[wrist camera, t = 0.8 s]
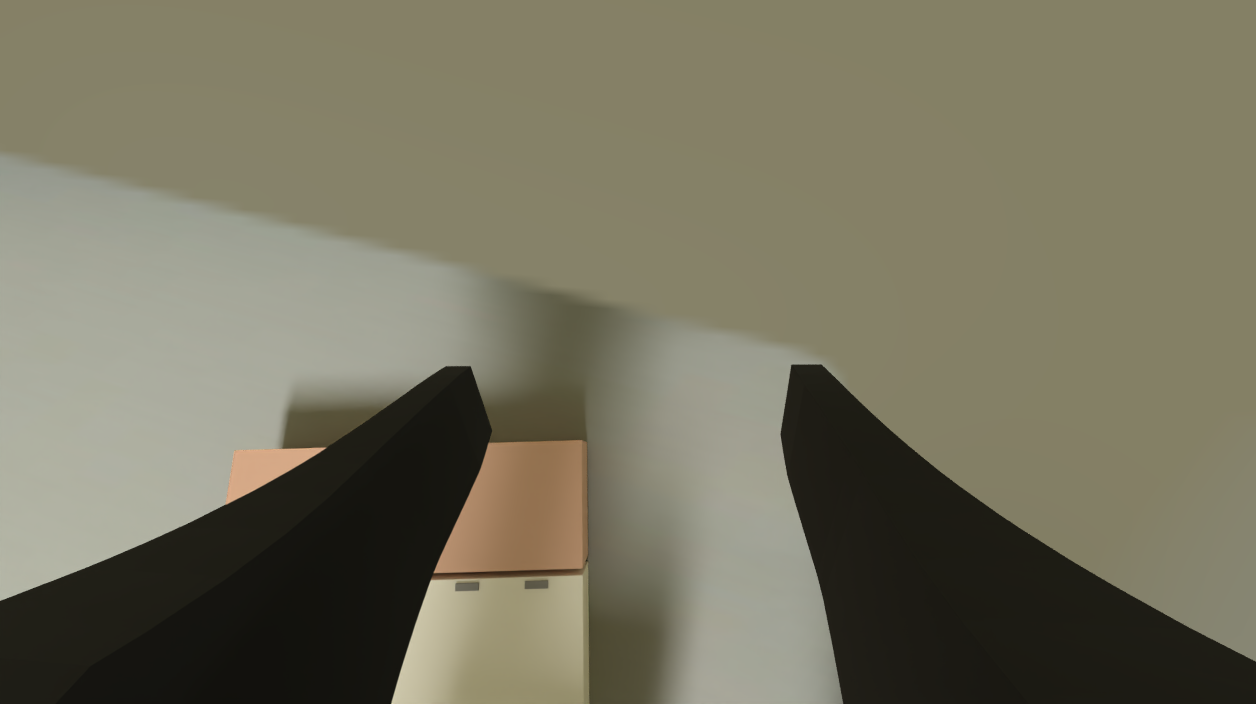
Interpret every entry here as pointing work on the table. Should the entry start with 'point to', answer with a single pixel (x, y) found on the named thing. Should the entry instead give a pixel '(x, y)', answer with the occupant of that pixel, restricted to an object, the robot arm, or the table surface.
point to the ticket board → (500, 640)
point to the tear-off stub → (487, 505)
